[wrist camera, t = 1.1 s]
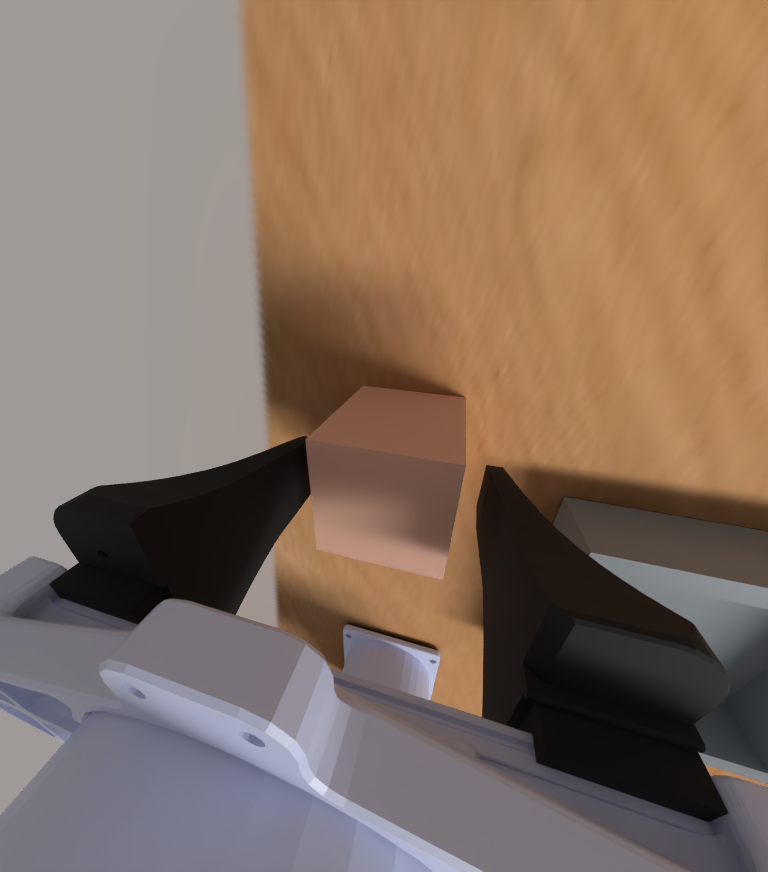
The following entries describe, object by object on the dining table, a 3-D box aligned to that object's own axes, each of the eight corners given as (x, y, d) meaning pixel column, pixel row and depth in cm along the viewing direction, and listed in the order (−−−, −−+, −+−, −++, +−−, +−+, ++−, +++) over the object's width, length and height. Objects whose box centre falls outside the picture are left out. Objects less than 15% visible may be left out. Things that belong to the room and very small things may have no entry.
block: (450, 483, 16) (442, 580, 10) (363, 468, 17) (316, 549, 11) (465, 397, 13) (465, 465, 8) (363, 385, 14) (305, 439, 9)
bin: (726, 702, 18) (780, 788, 15) (503, 641, 20) (510, 703, 17) (914, 556, 12) (1073, 649, 9) (564, 496, 14) (590, 552, 11)
